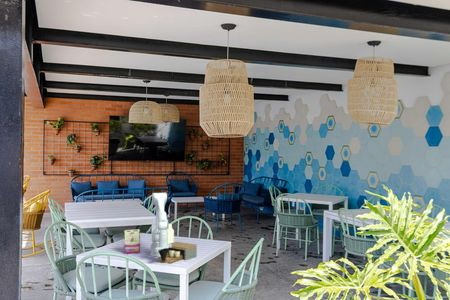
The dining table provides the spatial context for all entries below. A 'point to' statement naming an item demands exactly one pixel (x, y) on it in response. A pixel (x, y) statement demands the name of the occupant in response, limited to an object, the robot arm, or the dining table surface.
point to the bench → (187, 253)
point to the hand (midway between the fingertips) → (163, 260)
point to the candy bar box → (132, 241)
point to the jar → (170, 234)
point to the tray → (170, 260)
